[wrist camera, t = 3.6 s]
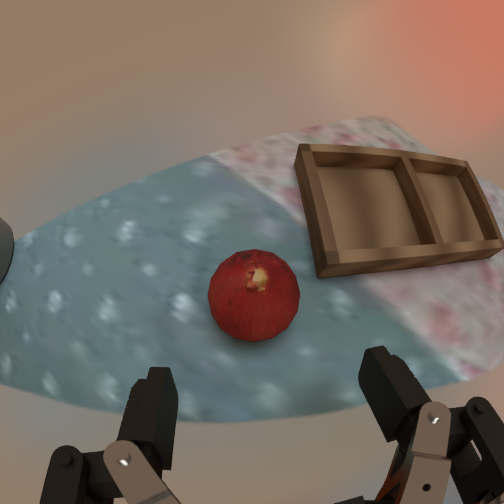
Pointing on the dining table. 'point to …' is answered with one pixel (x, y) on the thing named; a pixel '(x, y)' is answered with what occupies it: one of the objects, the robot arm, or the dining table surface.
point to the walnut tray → (391, 210)
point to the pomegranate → (253, 295)
